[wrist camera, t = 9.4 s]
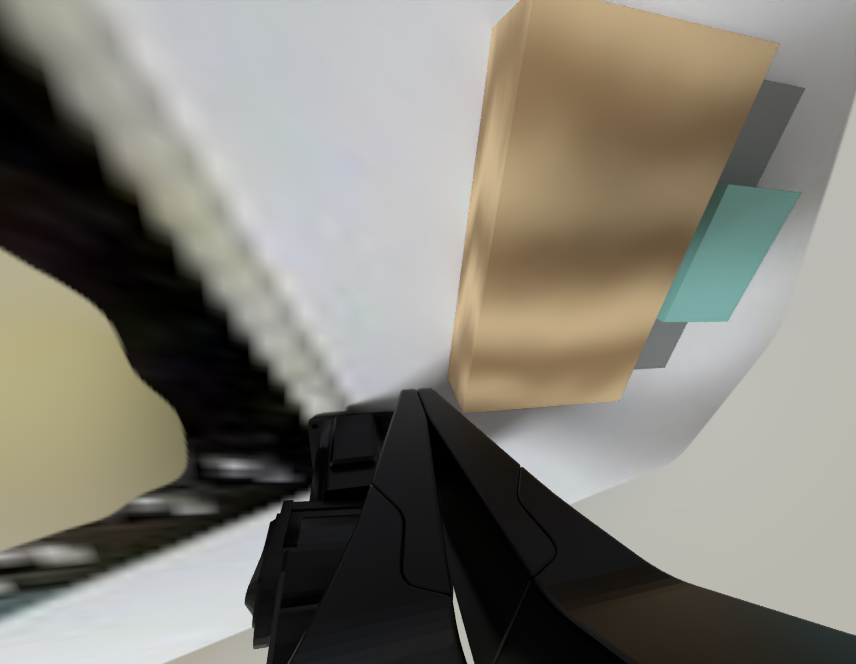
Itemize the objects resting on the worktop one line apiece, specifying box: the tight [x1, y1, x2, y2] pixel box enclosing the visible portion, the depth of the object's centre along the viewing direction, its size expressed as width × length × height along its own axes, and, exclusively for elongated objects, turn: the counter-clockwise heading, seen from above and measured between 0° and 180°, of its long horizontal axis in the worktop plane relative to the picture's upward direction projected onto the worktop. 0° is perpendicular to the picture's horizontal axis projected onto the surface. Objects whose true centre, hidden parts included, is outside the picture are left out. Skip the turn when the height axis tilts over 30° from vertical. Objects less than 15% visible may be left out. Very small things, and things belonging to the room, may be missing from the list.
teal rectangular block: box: [656, 184, 801, 322], centre depth 22 cm, size 9×6×2 cm, turn 175°
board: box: [447, 0, 780, 413], centre depth 19 cm, size 20×12×4 cm, turn 175°
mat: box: [634, 80, 805, 369], centre depth 22 cm, size 20×8×1 cm, turn 175°
